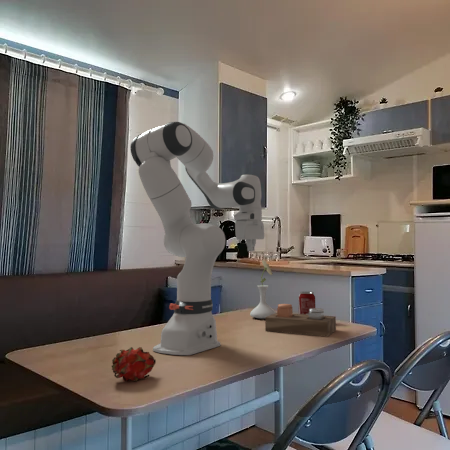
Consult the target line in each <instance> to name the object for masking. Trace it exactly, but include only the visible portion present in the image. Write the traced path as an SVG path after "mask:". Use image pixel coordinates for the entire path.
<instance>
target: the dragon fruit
mask: <svg viewBox="0 0 450 450" xmlns="http://www.w3.org/2000/svg"><path fill="white" fill-rule="evenodd" d="M111 361H112V363H111V364H112V365H111V370H112V372H113V374H114V378H116V379H121V378H122V381H123V382H127V381H129V380H131V381H132V382H137V381H138V380H139V379H140V380H141V379H142V380H146V379H148V378H149V377H150V374H149V373H150V372H152V370H153V368H154V367H155V365H156V361H157V360H156V359H155V357H154V356H153V355H151V353H150V352H149V351H144V349H143V348H142V347H140V346H139V347H137V348H136V349H134V348H133V347H132V346H131V347H129V348H128V349H127V350H125V349H120V350H119V352H117V354H115V357H113V359H112V360H111Z"/></svg>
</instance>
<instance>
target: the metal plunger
mask: <svg viewBox="0 0 450 450" xmlns="http://www.w3.org/2000/svg"><path fill="white" fill-rule="evenodd" d="M324 316H325V310H324V308H321V307H320V308H319V307H315V308H310V309H309V319H316V320H323V319H324Z"/></svg>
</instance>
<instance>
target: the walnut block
mask: <svg viewBox="0 0 450 450" xmlns="http://www.w3.org/2000/svg"><path fill="white" fill-rule="evenodd" d="M336 317H337V316H336V315H335V316H331V315H324V319H323V320H316V319H309V315H306V314H299V313H293V316H292V317H290V318H288V317H277V312H276V313H275V314H272V315H270V316H267V317H265V319H264V321H265V332H273V333H284V334H294V335H304V334H305V335H307V336H317V337H319V336H320V337H330V335H331V334H333V333H334V332H335V331H336V330H337V323H336V322H337V320H336Z"/></svg>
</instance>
